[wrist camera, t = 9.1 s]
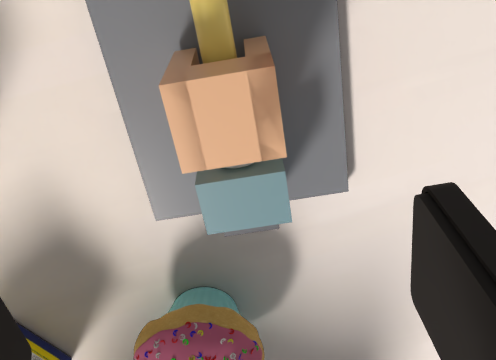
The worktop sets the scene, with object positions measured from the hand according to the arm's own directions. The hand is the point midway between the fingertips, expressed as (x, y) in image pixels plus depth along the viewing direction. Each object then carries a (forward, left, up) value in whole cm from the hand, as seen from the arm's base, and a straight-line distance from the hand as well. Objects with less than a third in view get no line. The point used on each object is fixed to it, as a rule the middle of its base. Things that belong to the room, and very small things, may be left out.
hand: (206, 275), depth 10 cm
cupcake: (+17, -5, -17) cm, 25 cm away
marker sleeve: (0, 0, -15) cm, 15 cm away
